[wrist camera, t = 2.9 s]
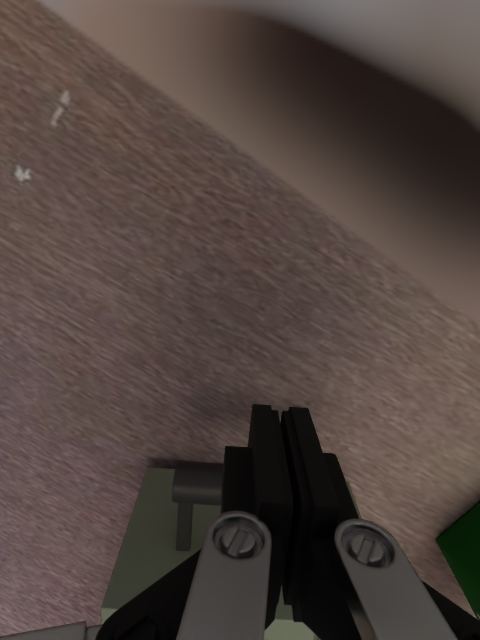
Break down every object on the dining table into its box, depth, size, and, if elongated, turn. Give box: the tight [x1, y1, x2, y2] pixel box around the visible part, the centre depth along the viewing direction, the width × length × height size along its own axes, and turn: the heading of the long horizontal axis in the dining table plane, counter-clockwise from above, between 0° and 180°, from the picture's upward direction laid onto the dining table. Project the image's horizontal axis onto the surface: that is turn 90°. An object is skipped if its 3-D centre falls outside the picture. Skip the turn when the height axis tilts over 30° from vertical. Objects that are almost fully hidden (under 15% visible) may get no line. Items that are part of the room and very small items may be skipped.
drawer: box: [101, 461, 362, 640], centre depth 20 cm, size 18×11×8 cm, turn 175°
